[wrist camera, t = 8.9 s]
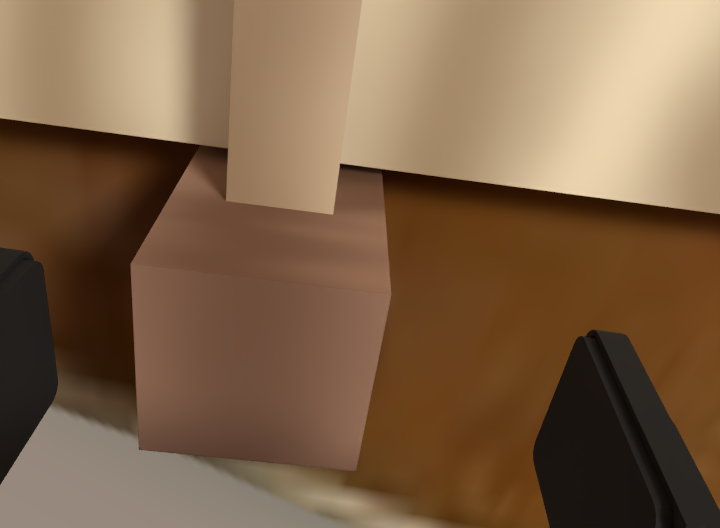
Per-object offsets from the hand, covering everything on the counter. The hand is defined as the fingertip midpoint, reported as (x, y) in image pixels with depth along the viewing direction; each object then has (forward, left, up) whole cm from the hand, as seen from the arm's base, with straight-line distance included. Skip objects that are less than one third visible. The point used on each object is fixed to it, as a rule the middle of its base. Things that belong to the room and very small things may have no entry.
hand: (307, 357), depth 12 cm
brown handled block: (+1, -5, -6) cm, 7 cm away
